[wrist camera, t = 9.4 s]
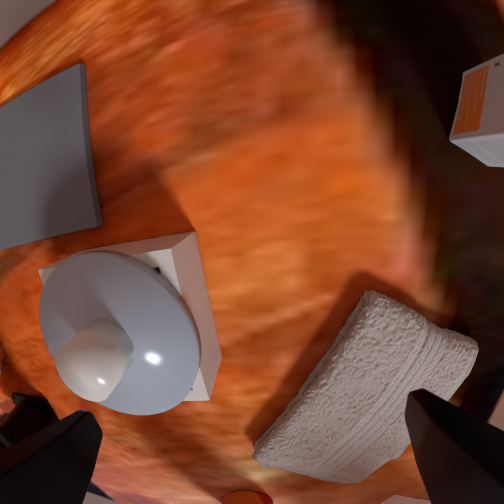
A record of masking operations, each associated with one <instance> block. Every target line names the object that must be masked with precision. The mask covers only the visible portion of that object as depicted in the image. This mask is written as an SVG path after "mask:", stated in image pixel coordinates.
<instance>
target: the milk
mask: <svg viewBox="0 0 504 504" xmlns="http://www.w3.org/2000/svg"><path fill="white" fill-rule="evenodd" d="M381 504H431V502H430V501H429V500H422V499H416V498H410V497H405V496H400V495H395V494H394V495H393V496H391V497H390V498H388V499H387V500H385V501H384V502H382V503H381Z"/></svg>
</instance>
